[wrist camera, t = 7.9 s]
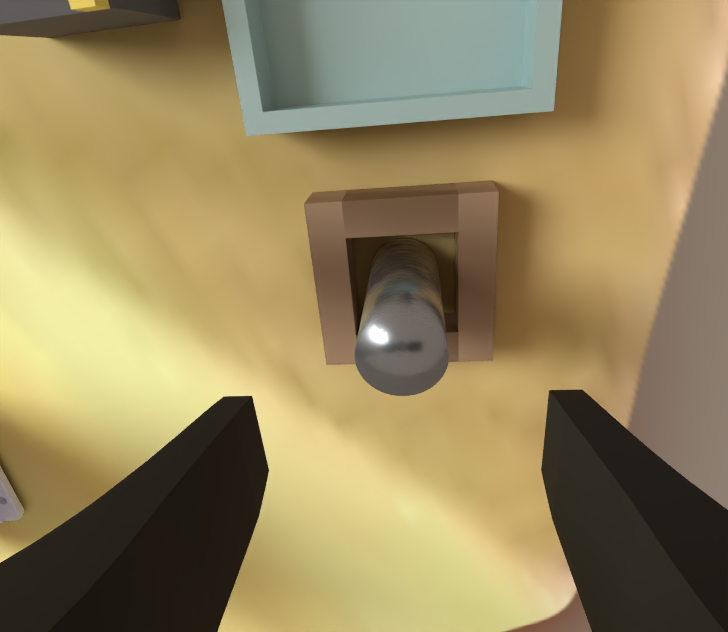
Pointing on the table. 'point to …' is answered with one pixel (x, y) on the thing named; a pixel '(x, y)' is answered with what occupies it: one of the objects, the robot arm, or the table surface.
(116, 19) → the chock
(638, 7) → the table surface
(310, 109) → the tray
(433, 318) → the pin
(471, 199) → the pin holder
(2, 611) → the robot arm
